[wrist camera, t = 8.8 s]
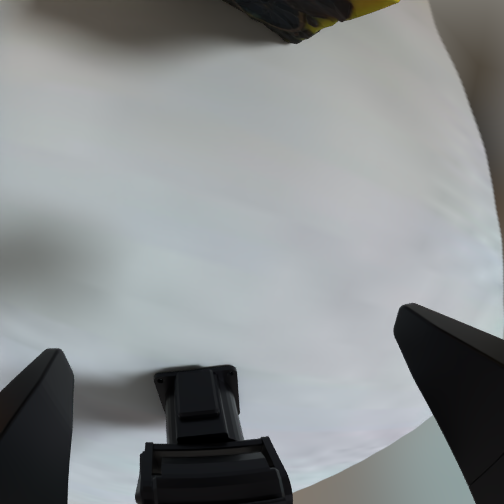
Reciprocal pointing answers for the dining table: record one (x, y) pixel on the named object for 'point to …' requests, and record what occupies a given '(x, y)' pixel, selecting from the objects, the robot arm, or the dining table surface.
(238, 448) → the robot arm
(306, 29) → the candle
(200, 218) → the dining table surface
